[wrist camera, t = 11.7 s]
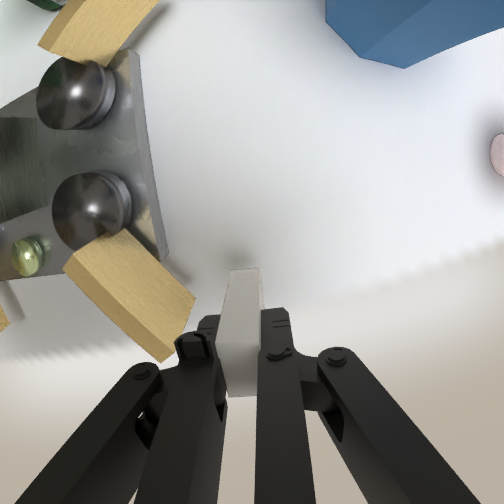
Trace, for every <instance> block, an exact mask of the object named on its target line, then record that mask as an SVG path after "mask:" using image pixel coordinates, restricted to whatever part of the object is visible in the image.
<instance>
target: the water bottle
mask: <svg viewBox="0 0 504 504" xmlns="http://www.w3.org/2000/svg"><path fill="white" fill-rule="evenodd" d="M326 23H327V24H328V25H329V26H331V27H332V28H333V29H334V30H335V31H336V33H337V34H338V35H339V36H340V37H341V38H342V39H343V40H344V41H345V42H346V43H347V44H348V45H349V46H350V47H351V48H352V49H353V50H354V52H355V53H356V54H357V55H358V56H359V57H360V58H364V59H369V60H373V61H377V62H381V63H385V64H389V65H393V66H396V67H400V68H403V69H405V68H407V67H409V66H411V65H413V64H415V63H418V62H420V61H422V60H424V59H426V58H428V57H431V56H433V55H435V54H437V53H440V52H442V51H444V50H447V49H449V48H451V47H454V46H456V45H458V44H461V43H463V42H466V41H468V40H471V39H473V38H476V37H478V36H481V35H484V34H486V33H489V32H492V31H495V30H497V29H500V28H503V27H504V0H326Z"/></svg>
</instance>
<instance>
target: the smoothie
mask: <svg viewBox="0 0 504 504" xmlns="http://www.w3.org/2000/svg"><path fill="white" fill-rule="evenodd" d="M490 157H491V162H492V165H493V167H494V169H495V170H496V172H497V173H498V174H500V175H502V176H504V134H499V135H497V136H496V137H495V138H494V139H493V141H492V143H491V148H490Z"/></svg>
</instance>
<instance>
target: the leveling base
mask: <svg viewBox="0 0 504 504" xmlns="http://www.w3.org/2000/svg"><path fill="white" fill-rule="evenodd" d="M107 66H108V67H109V68H110V70H111V71H112V73H113V75H114V78H115V85H116V89H115V96H114V99H113V102H112V105H111V107H110V109H109V111H108V112H107V113H106V115H105V116H104V117H103V118H102V119H101V120H100V121H99V122H98V123H97V124H96V125H94V126H92V127H90V128H88V129H84V130H55V129H51V128H49V127H47V126H46V125H45V124H44V123H43V122H42V121H41V120H40V118H39V116H38V113H37V108H36V95H37V90H38V87H39V86H38V87H37V88H35V89H33V90H31V91H29V92H28V93H26V94H24V95H22V96H21V97H19V98H17V99H15V100H14V101H12V102H11V103H9V104H7V105H6V106H4V107H3V108H1V109H0V281H4V280H13V279H21V278H30V277H38V276H47V275H55V274H64V273H65V272H64V271H63V267H64V266H65V264H66V263H67V261H68V260H69V258H70V257H71V255H72V254H73V253H75V252H76V251H74V250H72V249H70V248H69V247H68V246H67V245H66V244H65V243H64V242H63V241H62V240H61V239H60V237H59V235H58V234H57V232H56V230H55V227H54V224H53V219H52V202H53V198H54V195H55V192H56V190H57V188H58V187H59V185H60V184H61V183H62V182H63V181H64V180H65V179H67V178H68V177H70V176H73V175H76V174H81V173H86V172H91V171H97V170H104V171H108V172H111V173H113V174H115V175H116V176H118V177H119V178H120V179H121V180H122V181H123V182H124V184H125V185H126V187H127V188H128V191H129V193H130V196H131V200H132V218H131V221H130V224H129V226H128V228H127V230H128V231H129V232H130V233H131V234H132V235H133V236H134V237H135V238H136V239H137V240H138V241H139V242H140V243H141V245H142V246H143V247H144V248H145V249H146V250H147V251H148V252H149V253H150V254H151V255H152V256H153V257H154V258H155V259H156V260H157V261H158V262H161V261H162V260H163V259H164V258H165V256H166V255H167V254H168V253H169V251H168V247H167V242H166V237H165V233H164V228H163V223H162V218H161V213H160V207H159V202H158V197H157V191H156V185H155V180H154V174H153V167H152V161H151V155H150V148H149V141H148V134H147V127H146V119H145V111H144V102H143V93H142V83H141V73H140V61H139V55H138V54H136V53H135V52H134V51H132V50H131V49H129V48H127V49H124V50H121V51H118V52H116V54H115V55H114V56H113V58H112V59H111V61H110V62H109V63H108V65H107Z"/></svg>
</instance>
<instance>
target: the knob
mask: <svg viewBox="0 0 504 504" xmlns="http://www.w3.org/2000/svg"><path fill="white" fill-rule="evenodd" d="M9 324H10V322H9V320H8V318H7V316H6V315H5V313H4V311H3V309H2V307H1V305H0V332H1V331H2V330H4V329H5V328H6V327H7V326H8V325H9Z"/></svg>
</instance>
